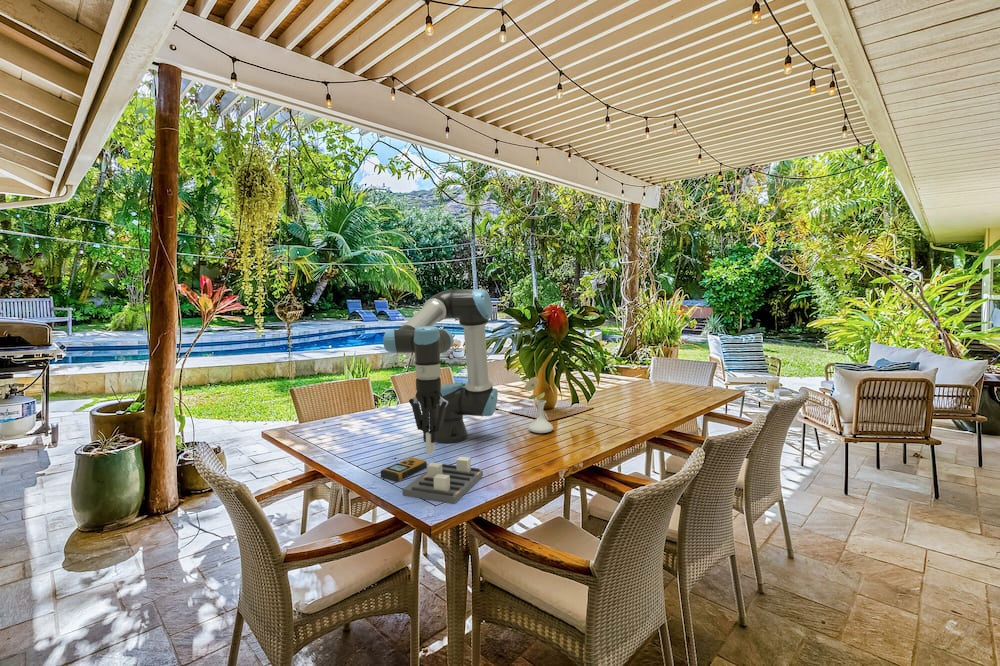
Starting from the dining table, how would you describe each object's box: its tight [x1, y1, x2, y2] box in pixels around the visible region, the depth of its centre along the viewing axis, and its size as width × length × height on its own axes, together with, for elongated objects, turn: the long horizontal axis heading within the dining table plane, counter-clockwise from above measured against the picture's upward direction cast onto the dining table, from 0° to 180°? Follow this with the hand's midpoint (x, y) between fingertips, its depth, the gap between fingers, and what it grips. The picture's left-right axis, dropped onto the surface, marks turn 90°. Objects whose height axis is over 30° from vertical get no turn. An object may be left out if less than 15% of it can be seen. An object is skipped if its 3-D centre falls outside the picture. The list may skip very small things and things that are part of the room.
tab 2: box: [434, 474, 450, 492], centre depth 148 cm, size 3×4×4 cm
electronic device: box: [380, 457, 428, 483], centre depth 169 cm, size 8×16×3 cm, turn 148°
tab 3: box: [455, 456, 472, 473], centre depth 163 cm, size 3×4×4 cm
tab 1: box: [426, 462, 443, 478], centre depth 158 cm, size 3×4×4 cm
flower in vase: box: [524, 376, 554, 434], centre depth 214 cm, size 13×11×25 cm
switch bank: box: [402, 463, 484, 505], centre depth 157 cm, size 22×18×3 cm
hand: (430, 452), depth 149 cm, fingers closed
